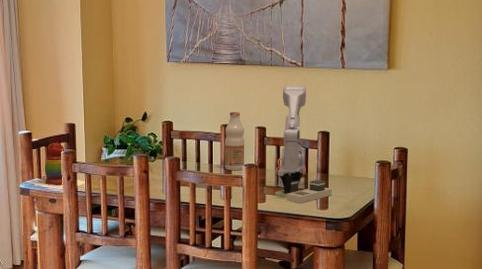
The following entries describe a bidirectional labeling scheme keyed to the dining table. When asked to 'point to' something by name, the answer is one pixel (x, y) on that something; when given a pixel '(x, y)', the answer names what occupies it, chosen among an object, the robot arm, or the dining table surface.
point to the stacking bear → (54, 164)
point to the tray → (281, 193)
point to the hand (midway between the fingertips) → (290, 190)
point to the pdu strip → (308, 195)
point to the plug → (293, 186)
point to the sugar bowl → (282, 165)
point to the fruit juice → (234, 143)
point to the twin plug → (317, 185)
